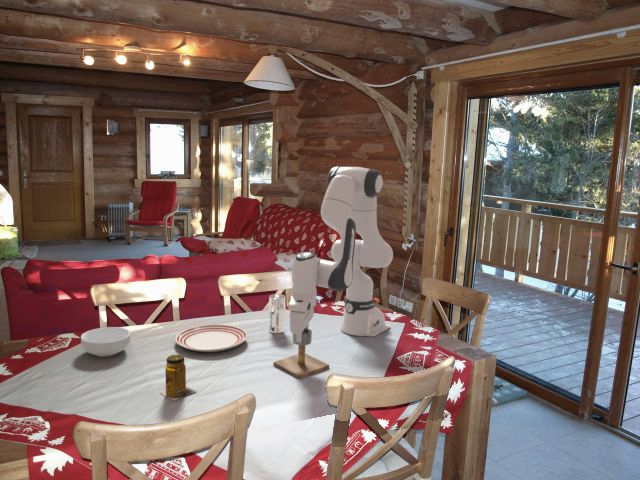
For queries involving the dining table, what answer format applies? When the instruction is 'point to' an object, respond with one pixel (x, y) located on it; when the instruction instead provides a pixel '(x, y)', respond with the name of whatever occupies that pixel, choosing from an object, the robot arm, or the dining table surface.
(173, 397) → the condiment
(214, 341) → the dinner plate
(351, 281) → the robot arm
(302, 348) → the wooden peg stand
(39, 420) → the dining table surface
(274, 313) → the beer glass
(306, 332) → the ring
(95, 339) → the cereal bowl
